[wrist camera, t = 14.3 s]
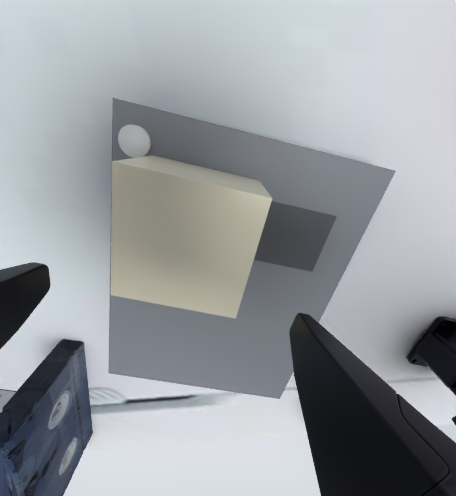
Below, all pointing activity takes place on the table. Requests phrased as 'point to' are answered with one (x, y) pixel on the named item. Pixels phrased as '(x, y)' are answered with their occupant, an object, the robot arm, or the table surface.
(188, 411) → the table surface
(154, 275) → the beige block
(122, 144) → the panel
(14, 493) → the vhs cassette tape
